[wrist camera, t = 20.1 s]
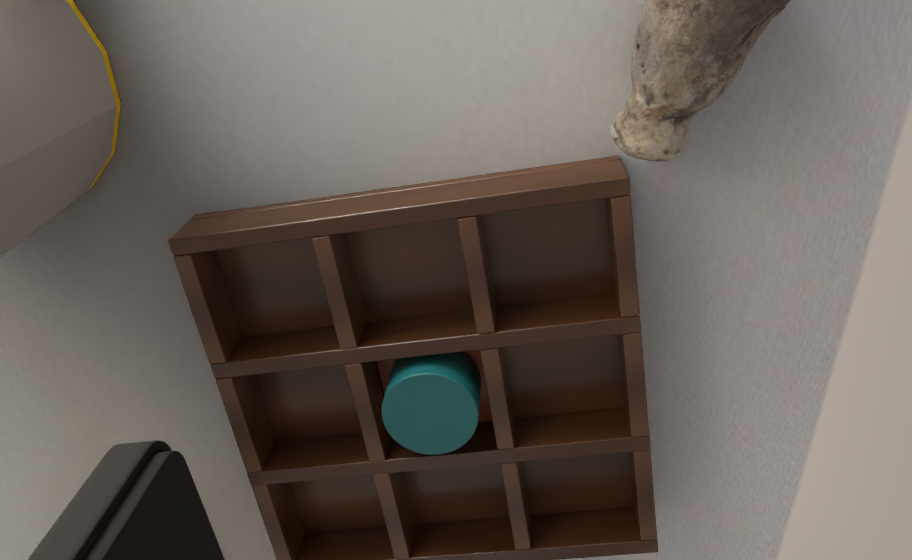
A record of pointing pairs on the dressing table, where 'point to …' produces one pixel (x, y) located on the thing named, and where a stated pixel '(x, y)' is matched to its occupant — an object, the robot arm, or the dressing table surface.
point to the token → (432, 402)
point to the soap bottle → (50, 113)
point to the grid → (429, 333)
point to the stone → (684, 68)
